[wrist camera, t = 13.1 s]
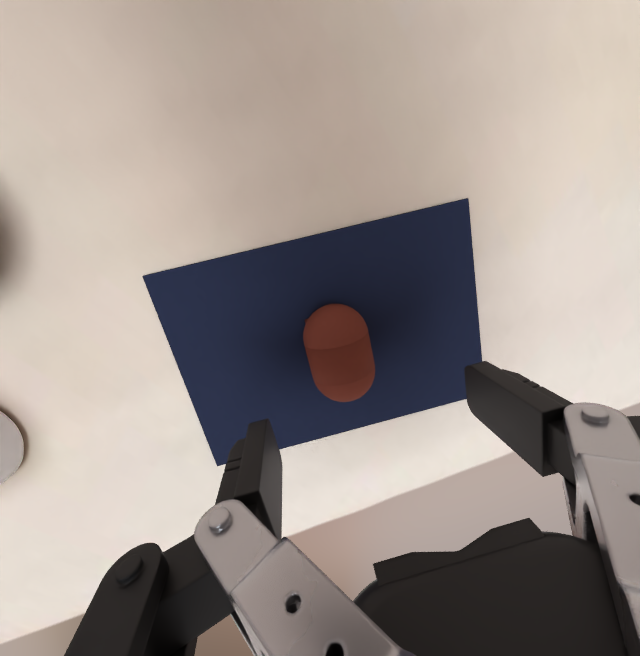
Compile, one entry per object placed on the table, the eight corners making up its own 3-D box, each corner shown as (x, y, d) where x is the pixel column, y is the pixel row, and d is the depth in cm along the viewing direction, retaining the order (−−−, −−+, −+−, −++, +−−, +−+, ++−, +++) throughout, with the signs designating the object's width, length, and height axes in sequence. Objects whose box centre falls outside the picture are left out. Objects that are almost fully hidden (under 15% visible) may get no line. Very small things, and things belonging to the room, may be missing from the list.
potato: (295, 307, 20) (297, 320, 16) (353, 292, 21) (369, 302, 17) (316, 390, 22) (323, 422, 18) (370, 376, 22) (388, 404, 18)
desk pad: (143, 275, 19) (142, 276, 19) (466, 198, 20) (468, 198, 20) (217, 464, 23) (217, 466, 23) (483, 392, 24) (485, 393, 24)
